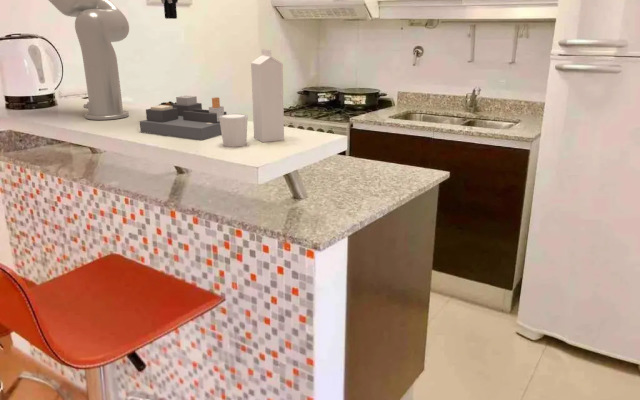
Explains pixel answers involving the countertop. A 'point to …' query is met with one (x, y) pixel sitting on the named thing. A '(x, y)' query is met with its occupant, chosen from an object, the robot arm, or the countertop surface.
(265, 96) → the milk
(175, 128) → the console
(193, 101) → the grey button
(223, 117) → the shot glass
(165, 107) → the cream button
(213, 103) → the toggle slider
